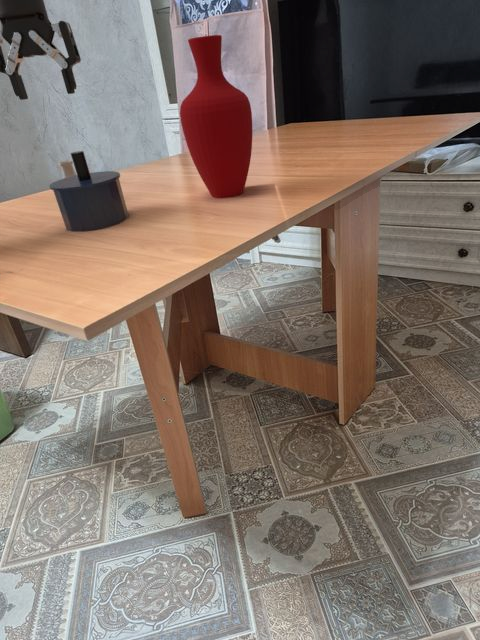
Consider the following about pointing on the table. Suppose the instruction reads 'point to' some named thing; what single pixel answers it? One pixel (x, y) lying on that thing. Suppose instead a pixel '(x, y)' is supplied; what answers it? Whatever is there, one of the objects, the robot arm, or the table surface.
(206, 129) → the vase
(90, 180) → the lid
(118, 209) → the pot
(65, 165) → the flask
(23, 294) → the table surface
